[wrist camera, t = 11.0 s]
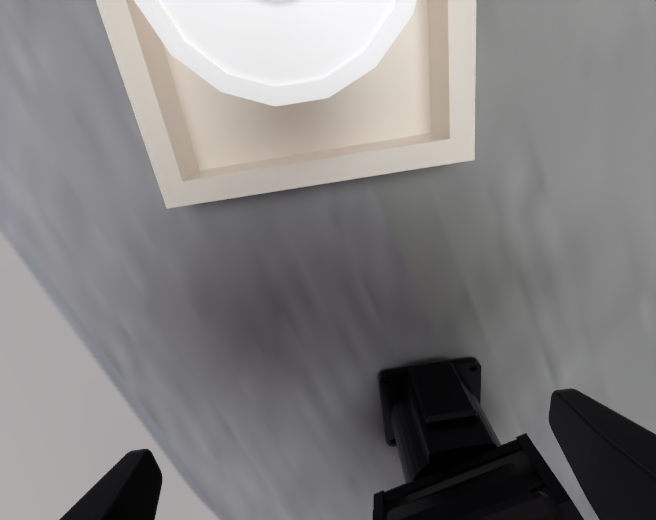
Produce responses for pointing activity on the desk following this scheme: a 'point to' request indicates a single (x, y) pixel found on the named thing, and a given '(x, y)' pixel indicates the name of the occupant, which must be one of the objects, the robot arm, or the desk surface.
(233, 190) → the tray
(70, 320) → the desk surface
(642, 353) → the desk surface
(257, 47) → the beverage cup
